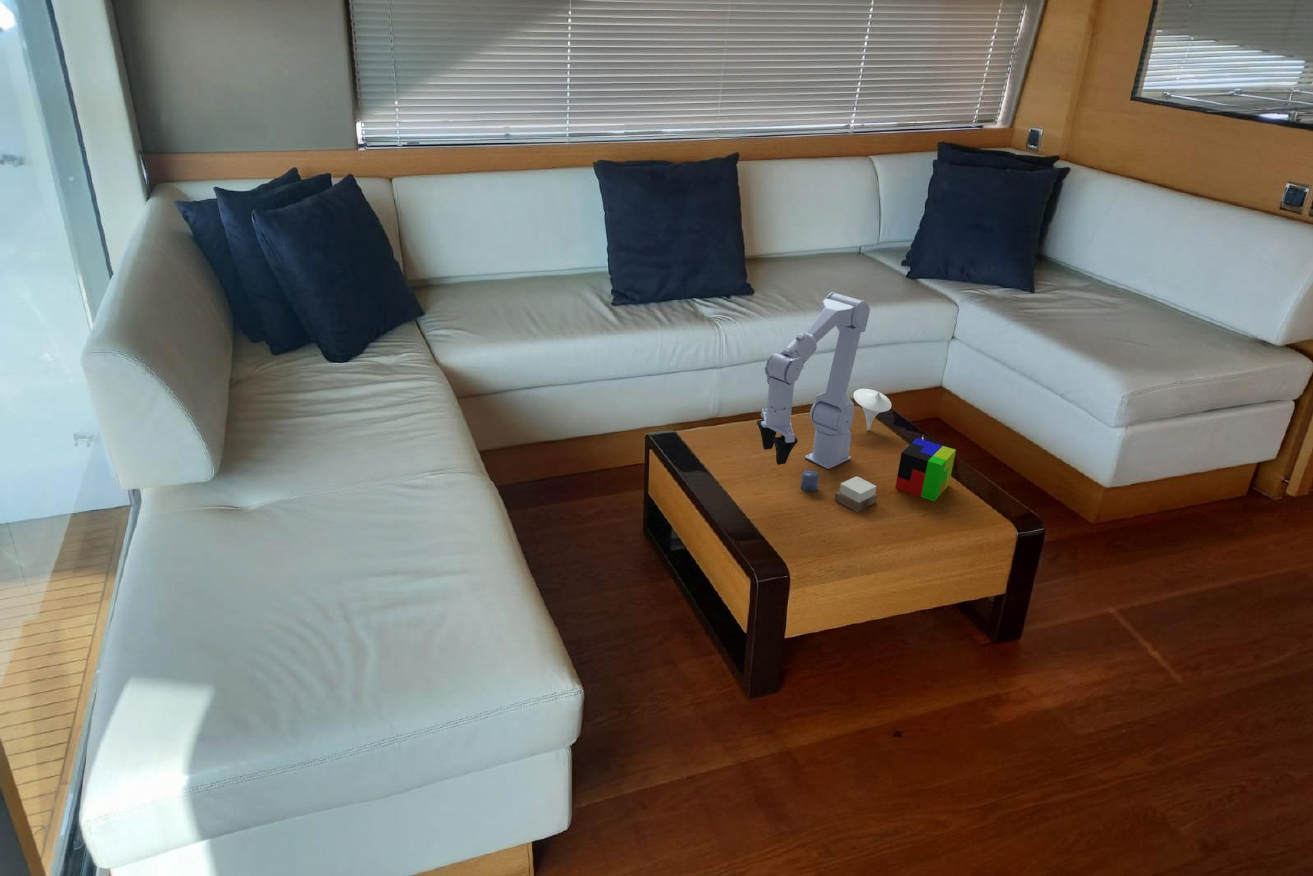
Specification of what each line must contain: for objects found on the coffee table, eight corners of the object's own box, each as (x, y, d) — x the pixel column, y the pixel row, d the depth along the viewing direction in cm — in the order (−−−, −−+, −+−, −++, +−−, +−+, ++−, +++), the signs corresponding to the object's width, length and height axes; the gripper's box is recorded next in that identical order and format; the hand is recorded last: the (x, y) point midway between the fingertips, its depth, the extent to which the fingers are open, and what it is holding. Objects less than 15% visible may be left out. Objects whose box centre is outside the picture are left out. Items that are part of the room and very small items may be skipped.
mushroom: (894, 431, 258) (901, 391, 253) (872, 442, 252) (878, 401, 246) (864, 418, 265) (869, 379, 260) (840, 429, 258) (846, 389, 253)
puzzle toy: (910, 473, 237) (916, 438, 233) (948, 485, 232) (956, 449, 228) (895, 488, 230) (901, 452, 225) (934, 501, 225) (941, 465, 220)
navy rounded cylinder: (808, 482, 231) (809, 468, 229) (820, 489, 228) (822, 474, 226) (797, 487, 228) (799, 473, 227) (809, 494, 226) (811, 479, 224)
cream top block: (855, 485, 226) (856, 476, 225) (875, 495, 222) (876, 486, 221) (839, 492, 223) (840, 483, 222) (859, 503, 219) (860, 493, 218)
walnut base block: (852, 492, 228) (853, 483, 227) (875, 504, 224) (877, 495, 222) (834, 501, 224) (835, 492, 223) (857, 513, 219) (858, 504, 218)
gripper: (751, 393, 221) (746, 444, 227) (776, 419, 208) (771, 472, 215) (778, 390, 223) (773, 440, 229) (805, 416, 210) (799, 468, 217)
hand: (774, 456), depth 222 cm, fingers open, 7 cm apart
